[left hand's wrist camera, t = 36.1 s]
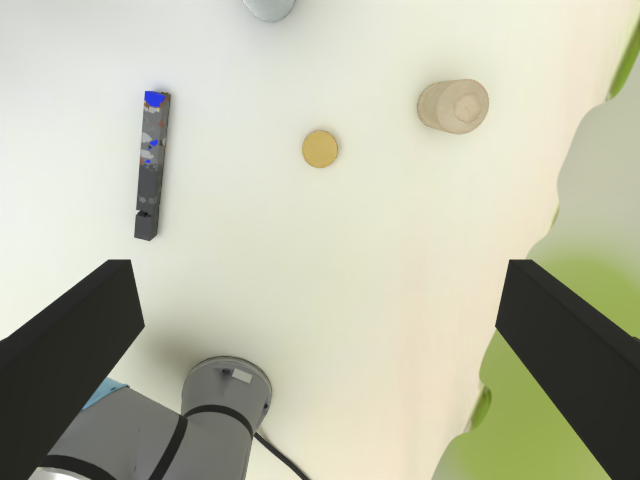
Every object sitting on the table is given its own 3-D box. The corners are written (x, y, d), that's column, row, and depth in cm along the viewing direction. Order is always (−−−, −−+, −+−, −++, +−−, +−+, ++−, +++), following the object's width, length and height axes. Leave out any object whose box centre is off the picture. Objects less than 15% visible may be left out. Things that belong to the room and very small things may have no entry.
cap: (343, 153, 49) (344, 155, 47) (314, 171, 49) (314, 174, 48) (325, 123, 47) (325, 124, 45) (296, 142, 48) (295, 144, 46)
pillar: (134, 237, 51) (145, 88, 43) (141, 232, 53) (153, 88, 45) (149, 241, 51) (163, 93, 44) (156, 235, 53) (170, 93, 46)
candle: (408, 115, 47) (430, 120, 37) (432, 73, 45) (461, 67, 35) (444, 135, 47) (474, 144, 38) (468, 95, 46) (506, 94, 36)
